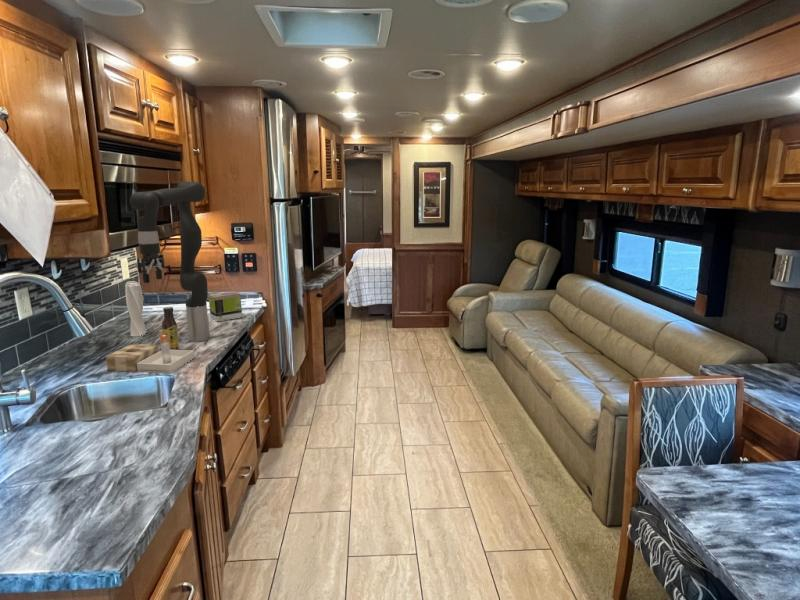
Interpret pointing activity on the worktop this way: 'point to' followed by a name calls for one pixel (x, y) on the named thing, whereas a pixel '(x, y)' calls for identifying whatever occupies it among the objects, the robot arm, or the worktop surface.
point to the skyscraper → (135, 308)
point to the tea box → (225, 306)
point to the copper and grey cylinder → (165, 348)
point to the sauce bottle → (170, 328)
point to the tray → (157, 365)
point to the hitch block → (130, 357)
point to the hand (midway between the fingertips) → (153, 281)
